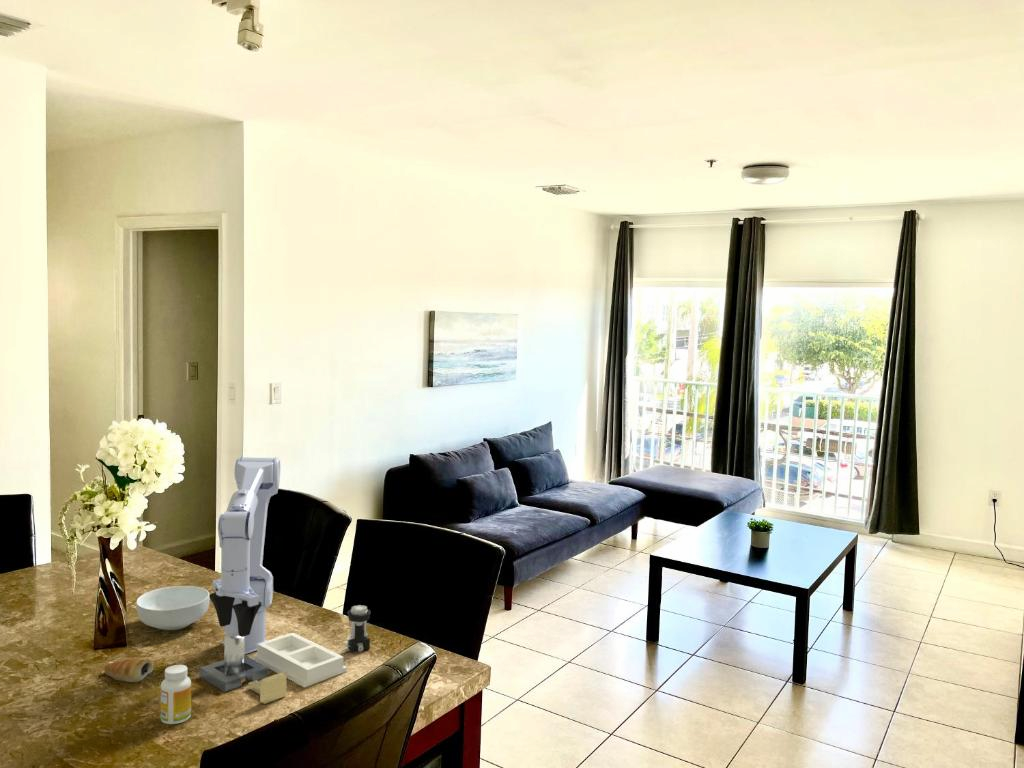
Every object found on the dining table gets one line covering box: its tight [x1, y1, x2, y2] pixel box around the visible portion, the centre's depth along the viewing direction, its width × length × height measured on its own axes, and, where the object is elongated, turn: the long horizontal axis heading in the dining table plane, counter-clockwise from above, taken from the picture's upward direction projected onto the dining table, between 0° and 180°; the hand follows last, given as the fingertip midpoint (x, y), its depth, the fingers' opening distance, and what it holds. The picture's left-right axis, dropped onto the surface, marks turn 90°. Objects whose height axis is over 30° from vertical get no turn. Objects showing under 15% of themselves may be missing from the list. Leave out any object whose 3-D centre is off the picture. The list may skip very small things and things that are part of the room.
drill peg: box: [223, 632, 245, 676], centre depth 172 cm, size 4×4×9 cm
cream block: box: [247, 672, 287, 705], centre depth 165 cm, size 8×5×4 cm, turn 50°
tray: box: [253, 632, 348, 688], centre depth 179 cm, size 19×11×4 cm, turn 50°
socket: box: [199, 654, 269, 693], centre depth 172 cm, size 10×10×2 cm
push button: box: [341, 604, 372, 653], centre depth 188 cm, size 7×5×10 cm
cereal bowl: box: [135, 585, 211, 631], centre depth 199 cm, size 17×17×7 cm
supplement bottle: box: [160, 664, 192, 725], centre depth 154 cm, size 5×5×10 cm
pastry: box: [103, 656, 154, 683], centre depth 171 cm, size 9×7×4 cm
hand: (234, 630), depth 172 cm, fingers open, 7 cm apart
